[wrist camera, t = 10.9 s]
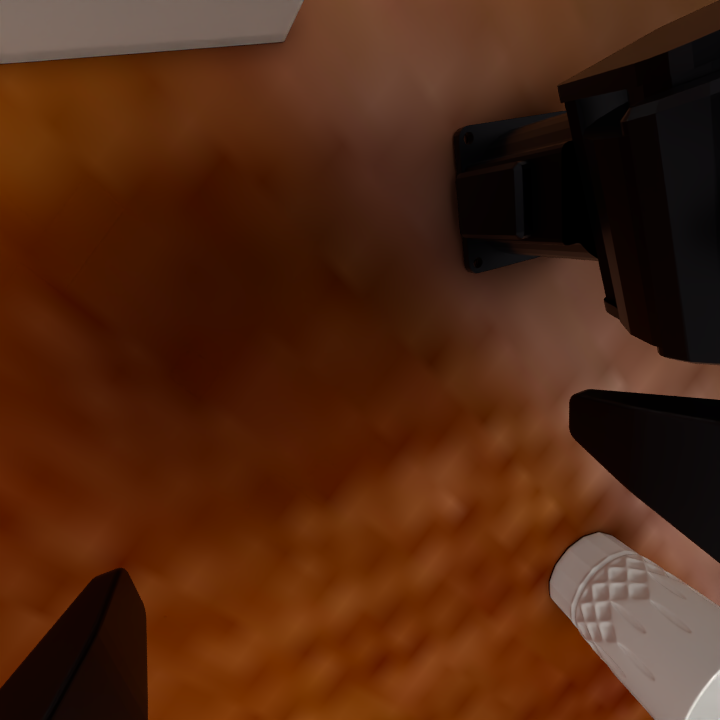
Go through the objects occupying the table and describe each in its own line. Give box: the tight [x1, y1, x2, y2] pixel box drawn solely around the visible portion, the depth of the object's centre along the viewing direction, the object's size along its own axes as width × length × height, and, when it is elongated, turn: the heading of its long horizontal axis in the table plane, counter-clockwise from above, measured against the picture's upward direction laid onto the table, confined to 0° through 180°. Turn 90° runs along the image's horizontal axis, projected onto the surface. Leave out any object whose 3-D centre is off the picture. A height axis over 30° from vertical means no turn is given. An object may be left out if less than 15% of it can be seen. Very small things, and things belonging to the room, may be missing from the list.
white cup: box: [550, 532, 720, 720], centre depth 28 cm, size 8×8×10 cm
